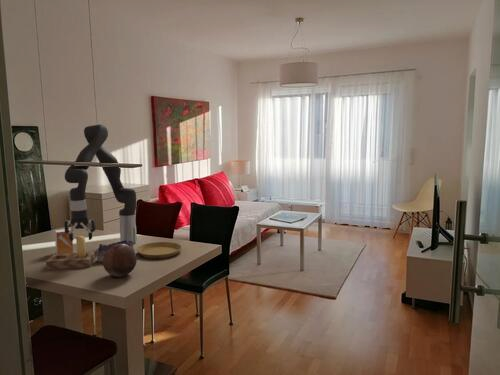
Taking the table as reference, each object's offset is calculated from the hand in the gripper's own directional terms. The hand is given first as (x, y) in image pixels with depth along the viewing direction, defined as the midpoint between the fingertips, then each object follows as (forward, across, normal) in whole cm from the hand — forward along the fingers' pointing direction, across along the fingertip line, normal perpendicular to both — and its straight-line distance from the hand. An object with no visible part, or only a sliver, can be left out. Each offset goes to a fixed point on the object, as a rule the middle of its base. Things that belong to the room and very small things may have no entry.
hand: (81, 240), depth 199 cm
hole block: (+12, +5, 0) cm, 13 cm away
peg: (+12, 0, 0) cm, 12 cm away
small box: (+13, +14, -21) cm, 28 cm away
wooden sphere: (+13, -22, +21) cm, 33 cm away
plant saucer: (+13, -38, -12) cm, 42 cm away
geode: (+13, -15, -7) cm, 21 cm away
